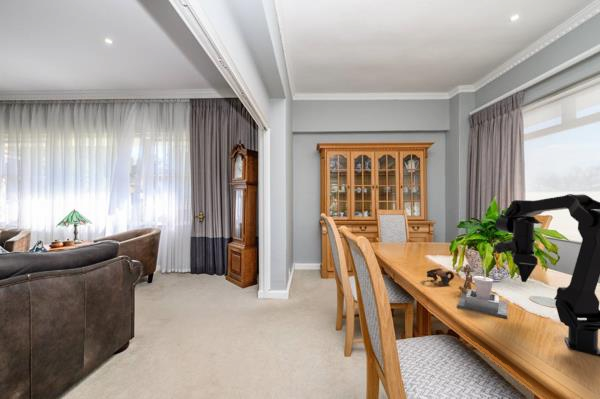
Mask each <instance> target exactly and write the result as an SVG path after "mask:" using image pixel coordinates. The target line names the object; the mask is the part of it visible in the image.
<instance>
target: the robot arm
mask: <svg viewBox="0 0 600 399" xmlns="http://www.w3.org/2000/svg"><path fill="white" fill-rule="evenodd" d="M558 210H559V211H560V210H568V212H569V215H570V217H571V218H572V219H574V220H575V221H576V222H577V223H578V224H577V230H578V233H579V235H580V237H581V245H580V248H579V250H578V256H577V258H576V261H575V265H574V269H573V272H572V276H571V278H570V282H569V284H568V286H566V287H565V286H563V287H562V286H559V287H557V289H556V294H555V296H554V298H553V299H554V300H555V303H554V304H555V308H556V311H557V316H558V318H559V321H560V322H561V323H562V324H564V326H567V327H568V332H567V333H568V335H567V336H568V337H566V336H565V337H564V341H565V344H566V345H567V348H568V349H570V350H575V351H579V352H583V353H587V354H590V355H595V356H599V357H600V348H599V330H600V301H599V298H598V296H597V294H596V289H597V285H598V283H599V278H600V201H599V200H598V201H597V200H595V199H593V198H592V197H591V196H589V195H587V194H585V193H572V194H571V193H567V194H566V195H565V194H564V195H561V196H554V197H550V198H549V197H548V198H543V199H537V200H534V199H533V200H531V199H526V200H525V199H522V200H521V199H514V200H512V201H511V203H510V204H509V205H508V207H507V210H506V211H505V212H504V213H503V214H500V217H498V218H497V219H496V221H495V222H494V227H495V228H496V230H498V231H500V232H503V233H509V234H512V236H511V240H507V241H498V242H497V243H493V248H494V249H495V252H496V254H498V255H499V254H502V253H507V252H510V254H511V255H510V256H511V257H512V263H513V264H514V265H516V266H517V269H518V274H519V276H520V279H521V282H522V283H526V282H527V281H528V279H529V277H530V276H531V275H532V273H533V271H534V270H535V268H536V267H537V265H538V261H539V260H538V257H537V256H536V255H535V246H534V243H535V225H536V224H540V220H538V219H537V218H536V217H535V216H538V215H541V214H542V213H544V212H551V211H558Z"/></svg>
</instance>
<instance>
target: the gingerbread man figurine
mask: <svg viewBox="0 0 600 399" xmlns="http://www.w3.org/2000/svg"><path fill="white" fill-rule="evenodd" d="M463 273H464V276H465V281H464V284H463V285H459V286H458V287H459V289H460V290H461V291H462V293H464V294H467V292H468V289H471V290H473V288H472V285H471V283H473V276H472V273H471V265H470V264H468V263H467V264H466V265H465V266H463Z"/></svg>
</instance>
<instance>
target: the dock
mask: <svg viewBox="0 0 600 399" xmlns="http://www.w3.org/2000/svg"><path fill="white" fill-rule="evenodd" d="M471 289H472V288H471ZM471 289H468V292H467V294H466V293H465V292H462V293H461V294H460V297H459V300H458V302H457V308H459V309H464V310H468V311H473V312H475V313H481V314H485V315H490V316H494V317H499V318H503V319H508V306H507V303H508V302H507V301H505V300H499V296H500V295H499V294H498V293H492V292H491V295H490V300H487V299H481V298H477V297H476V289H472V290H471Z"/></svg>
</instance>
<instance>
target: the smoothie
mask: <svg viewBox="0 0 600 399" xmlns="http://www.w3.org/2000/svg"><path fill="white" fill-rule="evenodd" d="M483 269H484V270H483V275H482V276H481V275H475V276H473V278H472V281H474V287H475V289H474V290H476V297H477V298H481V299H487V300H490V295H491V293H492V288H493V284H494V283H495V282H494V279H493V278H491V277H488V276H486V275H487V267H486V266H485V267H484V268H483Z"/></svg>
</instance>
